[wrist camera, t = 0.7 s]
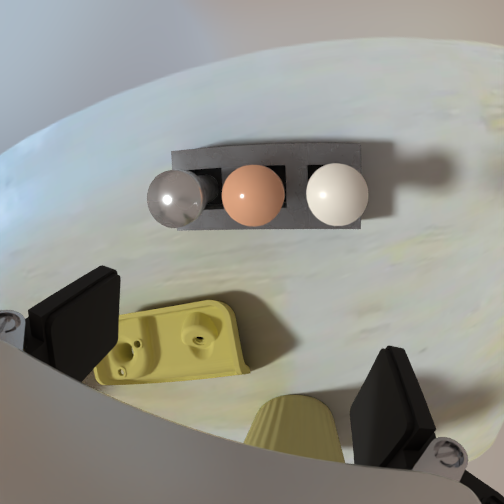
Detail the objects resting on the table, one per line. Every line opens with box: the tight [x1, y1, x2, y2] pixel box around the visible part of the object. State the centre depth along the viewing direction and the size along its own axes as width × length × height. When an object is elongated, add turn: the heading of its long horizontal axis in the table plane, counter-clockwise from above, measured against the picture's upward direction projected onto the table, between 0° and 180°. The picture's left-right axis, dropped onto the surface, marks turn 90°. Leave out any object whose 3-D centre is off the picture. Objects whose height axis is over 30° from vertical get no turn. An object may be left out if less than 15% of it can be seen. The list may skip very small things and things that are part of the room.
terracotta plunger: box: [222, 165, 285, 227], centre depth 27 cm, size 4×4×8 cm
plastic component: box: [94, 300, 250, 385], centre depth 39 cm, size 20×7×10 cm
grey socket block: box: [171, 143, 361, 231], centre depth 32 cm, size 18×8×4 cm, turn 93°
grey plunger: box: [147, 169, 219, 228], centre depth 28 cm, size 4×4×8 cm
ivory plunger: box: [306, 163, 369, 226], centre depth 26 cm, size 4×4×8 cm
